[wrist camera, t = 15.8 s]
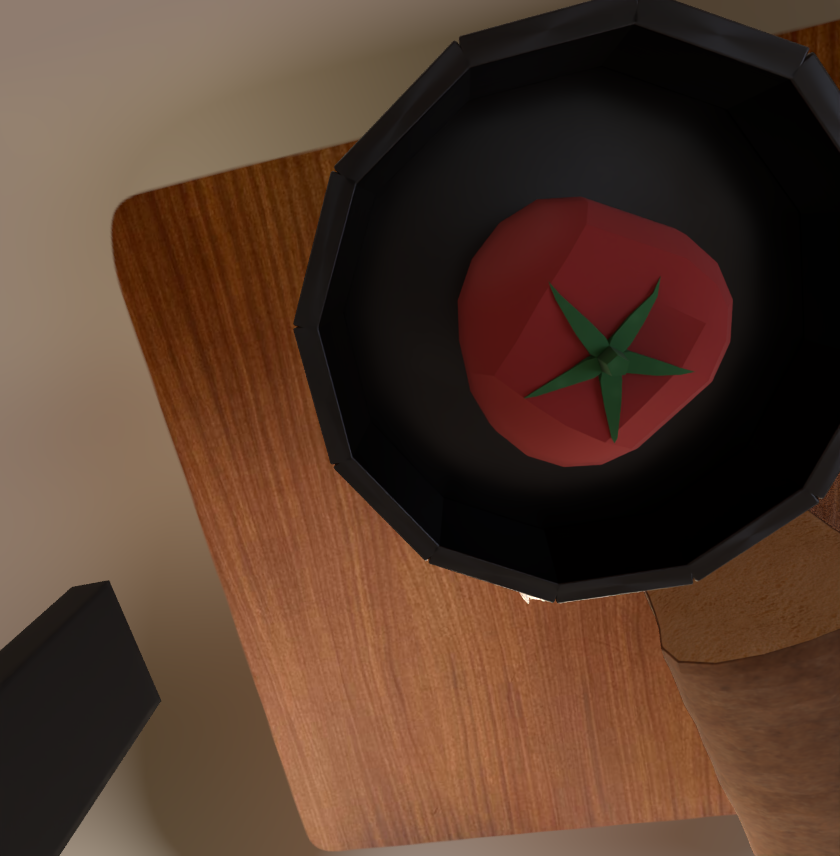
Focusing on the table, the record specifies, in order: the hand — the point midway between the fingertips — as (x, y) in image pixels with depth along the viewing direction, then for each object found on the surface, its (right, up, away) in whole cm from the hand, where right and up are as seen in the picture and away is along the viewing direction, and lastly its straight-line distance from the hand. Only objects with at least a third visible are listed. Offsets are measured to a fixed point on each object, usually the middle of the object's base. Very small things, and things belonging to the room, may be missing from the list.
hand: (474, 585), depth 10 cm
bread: (+33, -20, +48) cm, 62 cm away
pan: (+12, +16, +38) cm, 43 cm away
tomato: (+4, +7, +12) cm, 14 cm away
